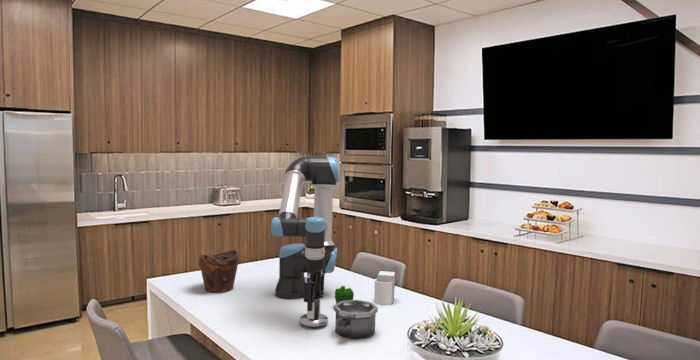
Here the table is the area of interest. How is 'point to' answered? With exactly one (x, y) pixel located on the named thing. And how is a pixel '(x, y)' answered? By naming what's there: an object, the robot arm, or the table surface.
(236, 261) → the chocolate muffin
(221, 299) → the table surface
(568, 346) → the table surface
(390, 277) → the supplement box
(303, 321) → the lid
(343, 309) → the pot
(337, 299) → the bell pepper
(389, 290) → the cup
